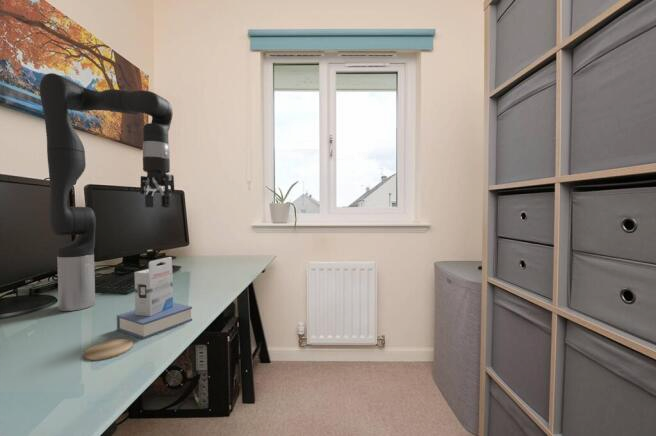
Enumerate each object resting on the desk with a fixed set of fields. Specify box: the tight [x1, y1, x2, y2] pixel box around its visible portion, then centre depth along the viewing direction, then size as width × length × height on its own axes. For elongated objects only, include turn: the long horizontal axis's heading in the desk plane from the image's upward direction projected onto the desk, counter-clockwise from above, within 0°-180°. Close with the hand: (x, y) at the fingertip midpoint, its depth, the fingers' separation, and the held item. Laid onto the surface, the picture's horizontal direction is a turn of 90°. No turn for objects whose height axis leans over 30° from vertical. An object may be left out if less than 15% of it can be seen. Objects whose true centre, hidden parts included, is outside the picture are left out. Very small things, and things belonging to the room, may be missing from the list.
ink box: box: [134, 256, 174, 316], centre depth 82 cm, size 9×5×15 cm, turn 167°
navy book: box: [116, 301, 193, 340], centre depth 82 cm, size 12×14×4 cm
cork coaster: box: [83, 338, 134, 361], centre depth 67 cm, size 9×9×1 cm
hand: (157, 207), depth 95 cm, fingers open, 8 cm apart
